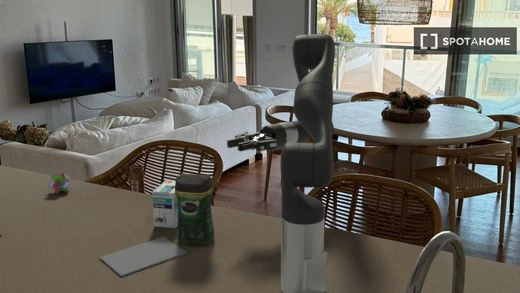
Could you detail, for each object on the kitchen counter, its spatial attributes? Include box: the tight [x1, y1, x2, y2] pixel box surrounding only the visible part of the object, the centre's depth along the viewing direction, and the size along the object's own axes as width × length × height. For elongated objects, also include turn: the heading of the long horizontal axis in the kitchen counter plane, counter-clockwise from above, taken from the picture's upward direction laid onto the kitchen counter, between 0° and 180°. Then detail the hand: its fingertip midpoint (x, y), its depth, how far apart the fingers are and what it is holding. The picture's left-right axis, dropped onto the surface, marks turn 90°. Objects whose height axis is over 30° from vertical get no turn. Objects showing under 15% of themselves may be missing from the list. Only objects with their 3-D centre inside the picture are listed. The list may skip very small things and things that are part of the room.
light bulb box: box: [151, 179, 178, 229], centre depth 148 cm, size 11×7×11 cm, turn 168°
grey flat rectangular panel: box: [99, 236, 188, 278], centre depth 128 cm, size 12×18×1 cm, turn 131°
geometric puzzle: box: [47, 172, 72, 196], centre depth 172 cm, size 7×7×8 cm
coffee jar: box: [174, 172, 215, 247], centre depth 134 cm, size 10×8×19 cm
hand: (233, 145), depth 138 cm, fingers open, 4 cm apart
